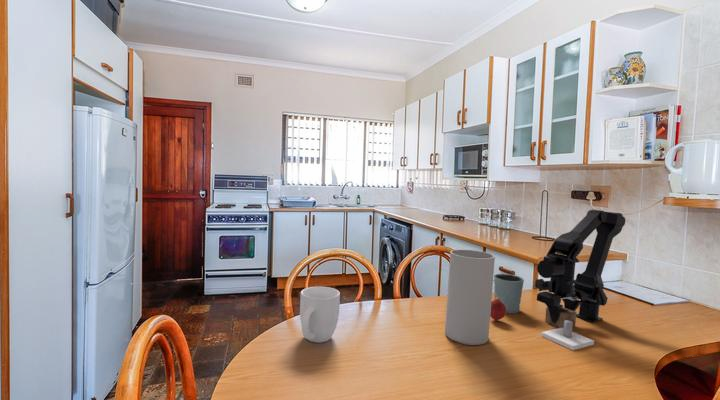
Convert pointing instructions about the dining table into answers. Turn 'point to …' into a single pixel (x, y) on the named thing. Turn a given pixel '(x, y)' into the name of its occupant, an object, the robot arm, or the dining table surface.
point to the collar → (561, 317)
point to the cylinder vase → (469, 296)
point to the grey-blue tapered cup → (508, 291)
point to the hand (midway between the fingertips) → (560, 321)
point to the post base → (567, 337)
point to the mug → (319, 313)
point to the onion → (497, 309)
